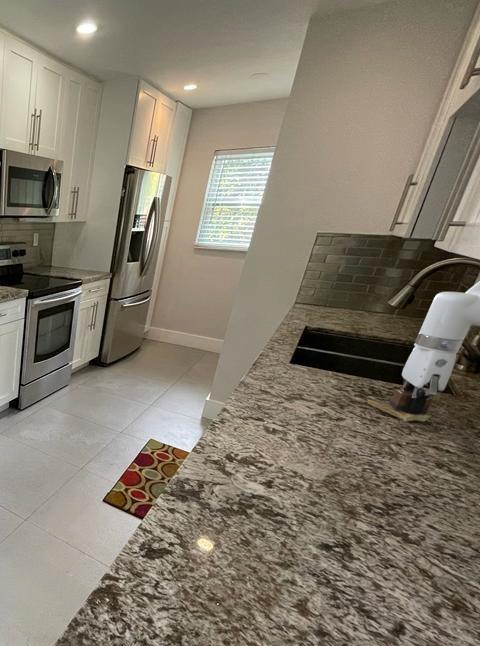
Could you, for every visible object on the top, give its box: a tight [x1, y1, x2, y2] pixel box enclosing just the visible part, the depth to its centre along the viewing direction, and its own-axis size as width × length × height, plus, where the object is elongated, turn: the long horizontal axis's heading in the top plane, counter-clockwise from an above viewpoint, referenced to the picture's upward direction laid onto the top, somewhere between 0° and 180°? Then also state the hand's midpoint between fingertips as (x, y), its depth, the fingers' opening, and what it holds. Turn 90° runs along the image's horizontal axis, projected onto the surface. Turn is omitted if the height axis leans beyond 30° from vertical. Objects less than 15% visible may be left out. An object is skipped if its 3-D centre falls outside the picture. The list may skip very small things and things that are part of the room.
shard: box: [366, 398, 431, 423], centre depth 110 cm, size 11×8×2 cm
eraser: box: [389, 389, 434, 414], centre depth 107 cm, size 6×4×4 cm, turn 65°
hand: (407, 408), depth 108 cm, fingers closed on eraser, 3 cm apart
